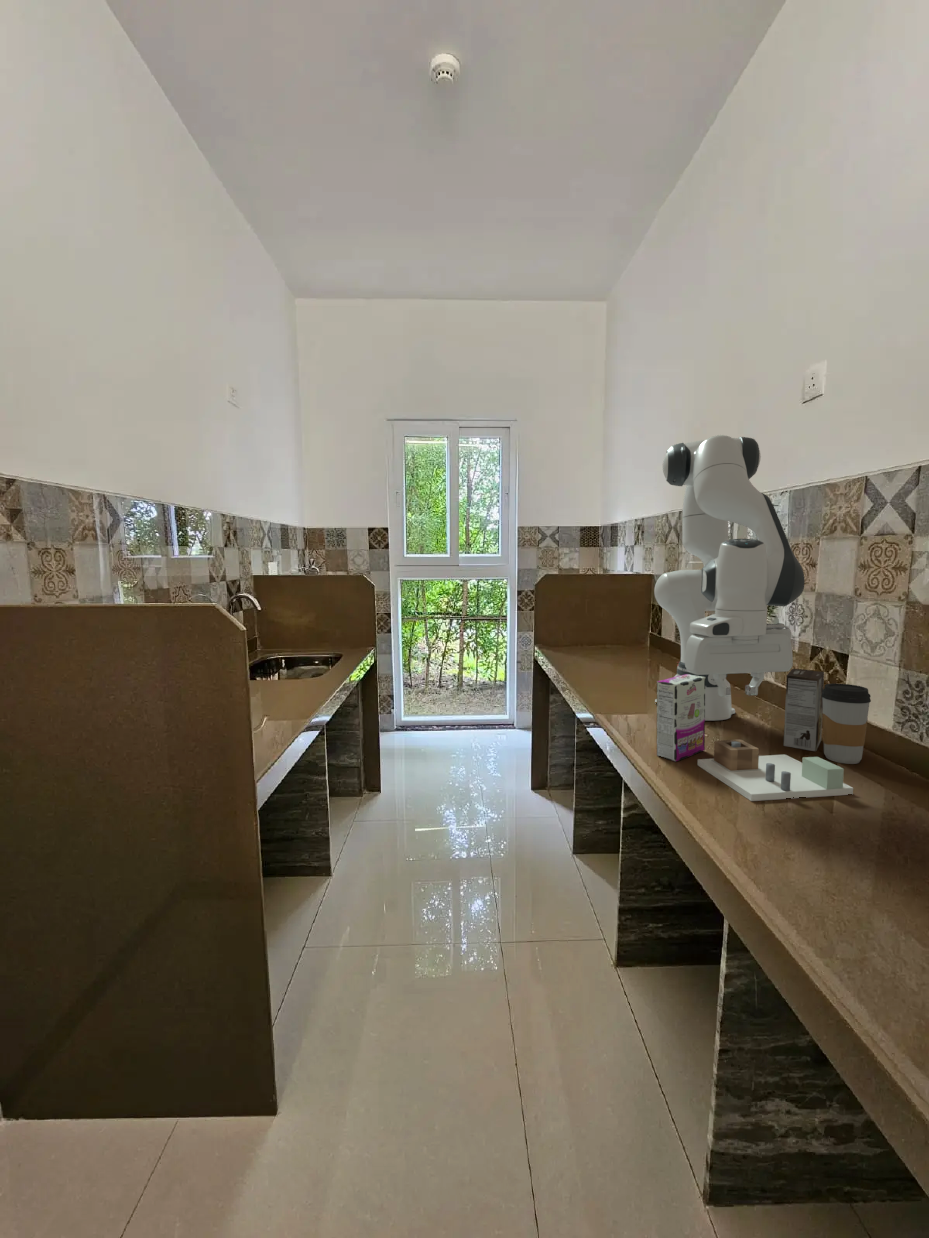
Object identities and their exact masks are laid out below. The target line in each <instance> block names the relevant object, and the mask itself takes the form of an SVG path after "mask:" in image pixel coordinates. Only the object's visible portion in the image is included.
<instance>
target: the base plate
mask: <svg viewBox="0 0 929 1238" xmlns="http://www.w3.org/2000/svg"><path fill="white" fill-rule="evenodd" d="M731 746H732V747H733V748H736V747H741V743H740V742H736V741H733V742H732V743H731ZM697 766H698V767H700V768H701V769H702V770H704V771H705V772H707V773H708V774H710V775H712V776H713V777H714V778H716V779H717V780H719V781H720V782H722V783H724V784H725V785H727V786H728V787H729V788H731V789H732V790H734V791H735V792H737V793H738V794H739V795H742V797H744V798H746V800H749V801H750V802H758V801H761V802H762V801H773V800H774V801H775V800H786V798H791V799H800V798H799V797H806V798H818V797H833V796H849V795H848V794H852V795H854V787H852V786H851V785H849V784H847V783H845V782H843V788H838V789H826V788H824V787H822V786H820V785H818V784H816V783H814V782H812V781H810V780H808V779H806V778H804V777H803V776H802V762H801V761H799V760H797V759H795V758H793V757H791V756H789V755H787V754H771V755H759V760H758V769H751V770H734V771H730V770H729V769H727V768H725V767H724V766H722V765H721V764H719V763H717V762H716V761H714V758H702V759H699V758H698V759H697ZM793 797H794V798H793Z"/></svg>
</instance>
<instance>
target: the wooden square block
mask: <svg viewBox="0 0 929 1238" xmlns="http://www.w3.org/2000/svg"><path fill="white" fill-rule="evenodd" d="M733 741H736V742H740V743H741V747H736V748H733V747H732V746H731V743H732V742H733ZM713 742H714V744H713V745H714V746H713V759H714V761H716V762H717V763H719V764H721V765H722V766H724V767H725V768H727V769H729V770H730V771H734V770H751V769H758V760H759V756H760V749H759V747H756V746H754V745H752V744H750V743H748V742H747V741H744V740H743V739H727V740H724V739H723V740H714V741H713Z"/></svg>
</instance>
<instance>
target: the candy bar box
mask: <svg viewBox="0 0 929 1238" xmlns="http://www.w3.org/2000/svg"><path fill="white" fill-rule="evenodd" d="M656 699H657V704H656V756H657V757H659V756H661V757H664V758H663V759H665V758H666V759H665V760H667V761H669V760H670V761H672V762H679V761H681V760H684V759H686V758H689V757H692V756H694V755H696V754H698V753H701V752H703V751H705V747H706V746H705V743H706V734H705V733H706V730H705V728H706V720H705V677H702V676H696V675H691V674H685V675H681V676H677V677H674V676H673V677H669V678H665V679H661V680H656ZM661 757H660V758H661Z"/></svg>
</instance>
